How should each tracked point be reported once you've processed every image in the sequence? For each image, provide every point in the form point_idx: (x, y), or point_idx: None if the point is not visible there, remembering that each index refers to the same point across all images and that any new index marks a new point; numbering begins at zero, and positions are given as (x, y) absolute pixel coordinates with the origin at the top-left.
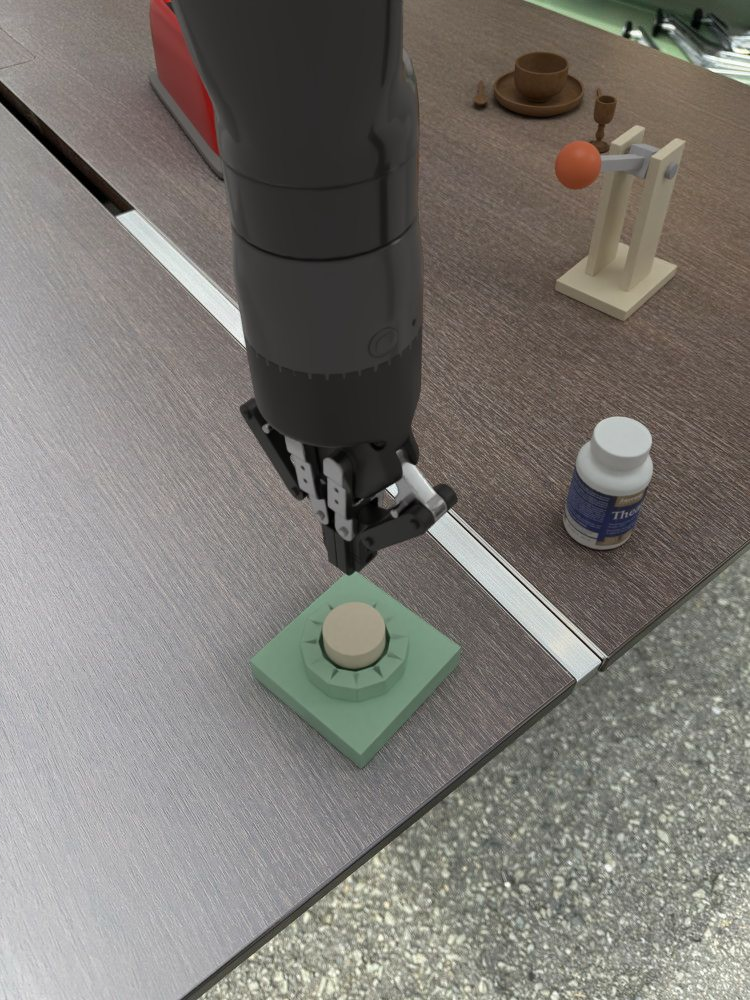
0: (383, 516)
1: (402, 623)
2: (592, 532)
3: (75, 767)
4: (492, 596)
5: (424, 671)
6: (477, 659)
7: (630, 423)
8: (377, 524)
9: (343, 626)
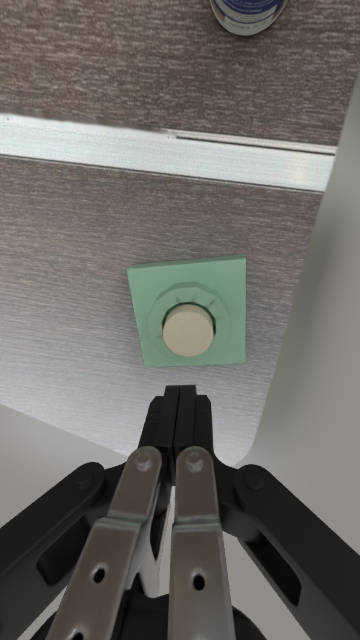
0: (251, 528)
1: (205, 292)
2: (269, 9)
3: (134, 435)
4: (221, 180)
5: (237, 295)
6: (250, 240)
7: None
8: (280, 593)
9: (181, 339)
